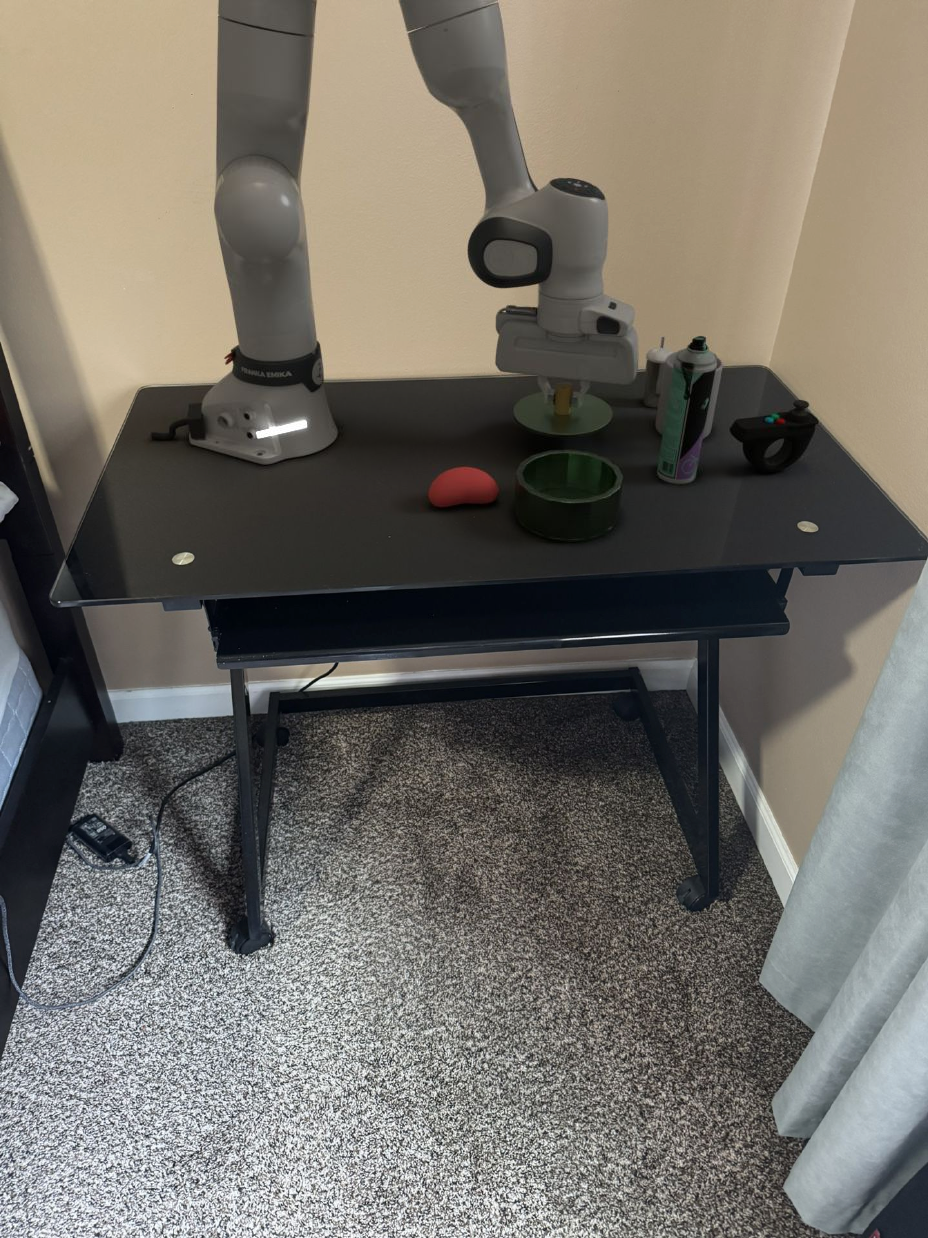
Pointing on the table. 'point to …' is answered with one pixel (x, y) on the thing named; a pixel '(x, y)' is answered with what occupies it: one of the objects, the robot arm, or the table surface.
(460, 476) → the red bean shape
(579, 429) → the tin lid
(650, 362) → the milkshake
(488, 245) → the robot arm
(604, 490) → the tin
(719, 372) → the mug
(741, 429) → the controller
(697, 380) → the spray can
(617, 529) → the table surface
